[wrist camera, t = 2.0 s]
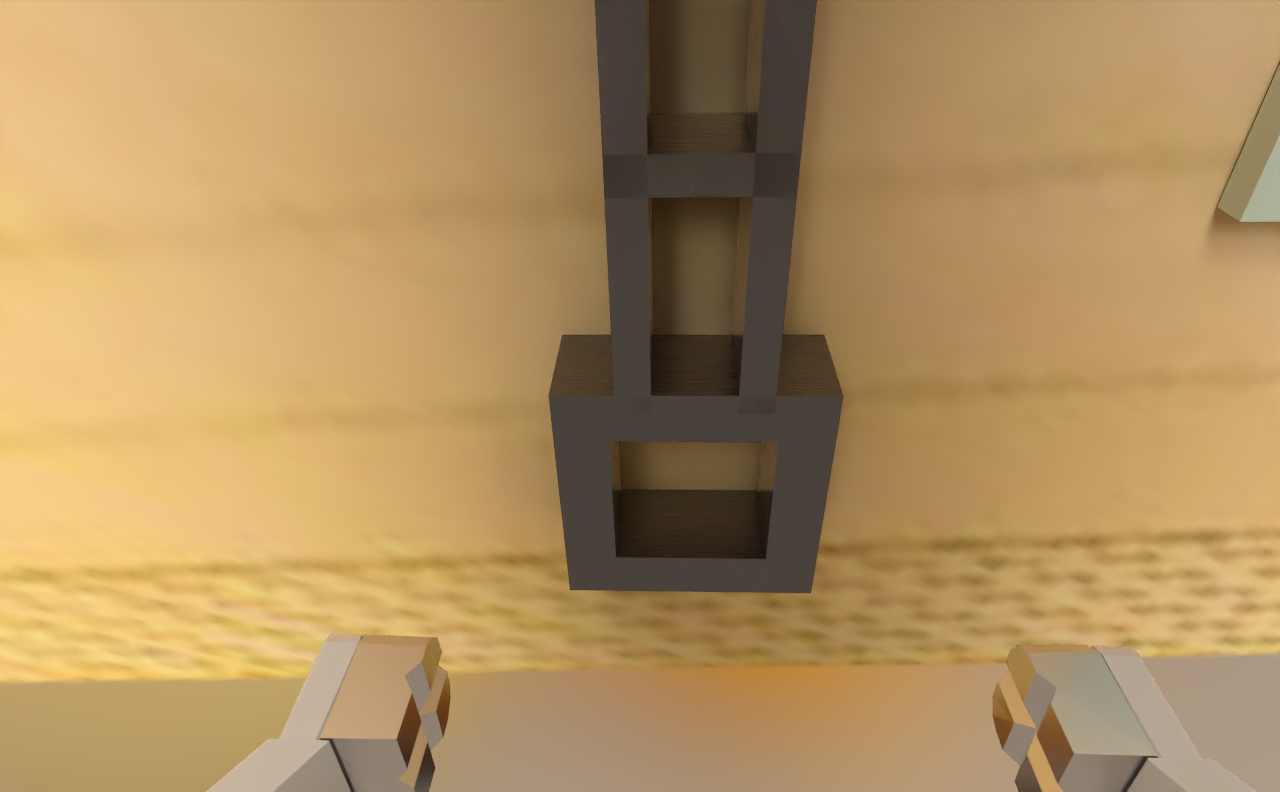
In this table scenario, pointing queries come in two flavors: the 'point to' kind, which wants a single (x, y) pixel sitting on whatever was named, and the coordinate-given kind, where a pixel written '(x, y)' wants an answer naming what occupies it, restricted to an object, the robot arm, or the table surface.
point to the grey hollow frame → (698, 336)
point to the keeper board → (1258, 167)
